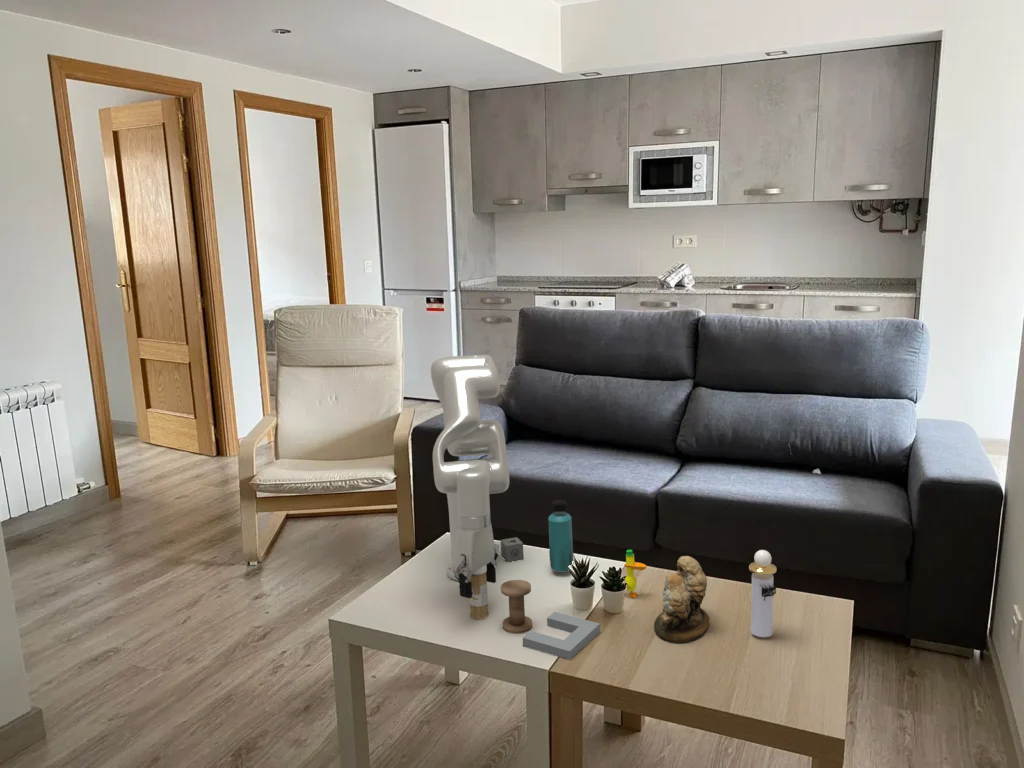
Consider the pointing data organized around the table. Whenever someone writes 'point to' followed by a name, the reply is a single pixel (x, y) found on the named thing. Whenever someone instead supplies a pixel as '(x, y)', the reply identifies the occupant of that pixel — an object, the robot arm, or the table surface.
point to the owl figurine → (683, 604)
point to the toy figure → (632, 572)
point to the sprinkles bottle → (479, 594)
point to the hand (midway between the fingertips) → (478, 589)
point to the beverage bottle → (560, 537)
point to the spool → (516, 606)
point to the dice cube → (512, 549)
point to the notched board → (563, 647)
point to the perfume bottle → (762, 594)
